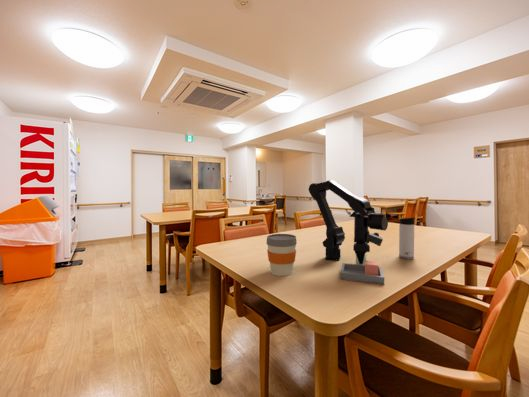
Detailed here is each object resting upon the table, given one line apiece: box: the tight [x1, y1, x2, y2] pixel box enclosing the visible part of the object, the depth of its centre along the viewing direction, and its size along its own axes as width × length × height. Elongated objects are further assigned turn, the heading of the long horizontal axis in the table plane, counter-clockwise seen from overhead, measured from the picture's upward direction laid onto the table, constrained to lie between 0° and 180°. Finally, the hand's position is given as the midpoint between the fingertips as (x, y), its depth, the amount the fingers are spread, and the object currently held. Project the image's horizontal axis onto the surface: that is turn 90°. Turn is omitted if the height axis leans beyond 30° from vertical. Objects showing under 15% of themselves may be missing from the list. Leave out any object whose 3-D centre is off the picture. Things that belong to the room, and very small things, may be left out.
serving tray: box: [340, 262, 385, 285], centre depth 93 cm, size 15×12×3 cm
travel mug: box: [398, 217, 416, 260], centre depth 116 cm, size 6×7×20 cm
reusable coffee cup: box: [266, 233, 297, 277], centre depth 99 cm, size 13×12×15 cm
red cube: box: [365, 260, 379, 276], centre depth 92 cm, size 4×4×5 cm
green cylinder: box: [355, 253, 368, 265], centre depth 105 cm, size 4×4×5 cm
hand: (361, 262), depth 105 cm, fingers closed on green cylinder, 4 cm apart
